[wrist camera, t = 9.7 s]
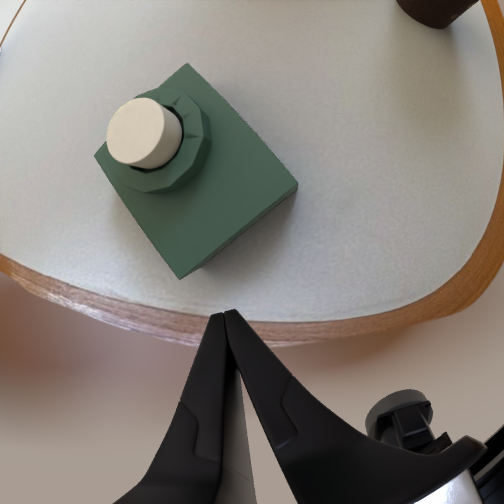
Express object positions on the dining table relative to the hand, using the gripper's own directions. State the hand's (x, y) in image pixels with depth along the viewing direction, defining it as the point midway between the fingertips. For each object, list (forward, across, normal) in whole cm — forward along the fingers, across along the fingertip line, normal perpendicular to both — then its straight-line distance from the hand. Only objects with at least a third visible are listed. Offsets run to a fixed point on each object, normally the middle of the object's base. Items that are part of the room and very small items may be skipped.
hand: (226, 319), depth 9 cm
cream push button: (+12, +2, -5) cm, 13 cm away
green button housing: (+16, 0, 0) cm, 16 cm away
